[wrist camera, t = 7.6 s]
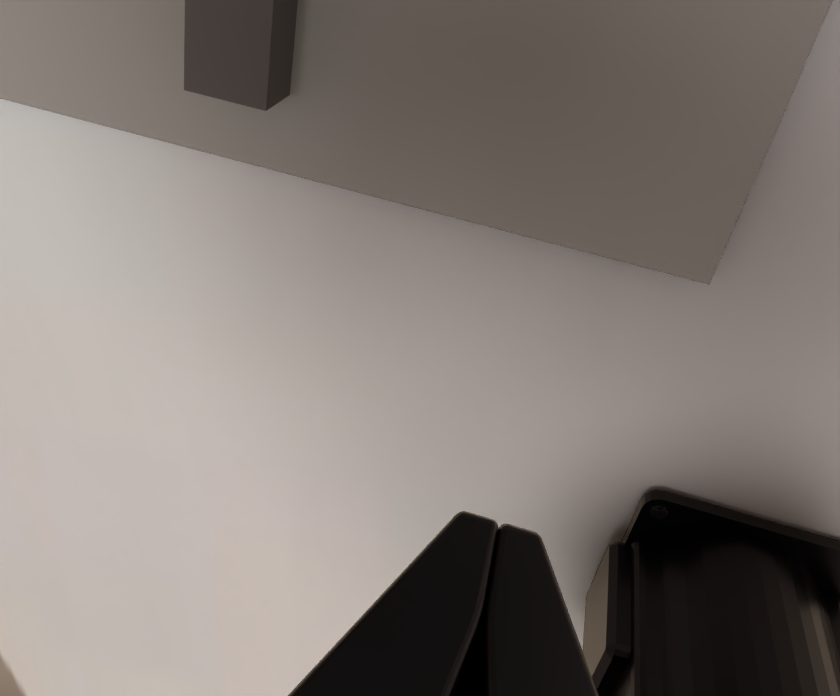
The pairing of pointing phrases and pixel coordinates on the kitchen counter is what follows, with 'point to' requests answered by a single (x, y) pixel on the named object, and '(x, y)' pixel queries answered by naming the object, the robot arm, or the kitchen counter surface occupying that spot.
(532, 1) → the rubber mat
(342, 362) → the kitchen counter surface
